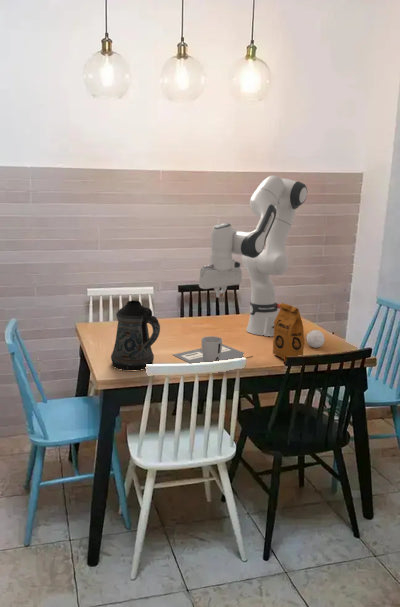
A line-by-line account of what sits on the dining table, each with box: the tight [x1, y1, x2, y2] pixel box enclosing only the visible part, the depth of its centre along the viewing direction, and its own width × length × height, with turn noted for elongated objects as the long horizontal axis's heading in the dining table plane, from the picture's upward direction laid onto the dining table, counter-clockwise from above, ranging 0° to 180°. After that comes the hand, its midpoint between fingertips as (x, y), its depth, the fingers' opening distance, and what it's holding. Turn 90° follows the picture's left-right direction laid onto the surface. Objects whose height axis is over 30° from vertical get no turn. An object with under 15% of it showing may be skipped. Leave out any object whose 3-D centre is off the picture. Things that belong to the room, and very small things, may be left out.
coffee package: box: [272, 302, 305, 360], centre depth 219 cm, size 10×12×22 cm
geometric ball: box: [306, 329, 326, 349], centre depth 235 cm, size 8×8×8 cm
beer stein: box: [110, 300, 161, 371], centre depth 208 cm, size 16×19×25 cm
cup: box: [201, 335, 223, 362], centre depth 211 cm, size 8×8×10 cm
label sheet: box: [172, 343, 245, 364], centre depth 222 cm, size 26×20×1 cm
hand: (220, 297), depth 223 cm, fingers closed
